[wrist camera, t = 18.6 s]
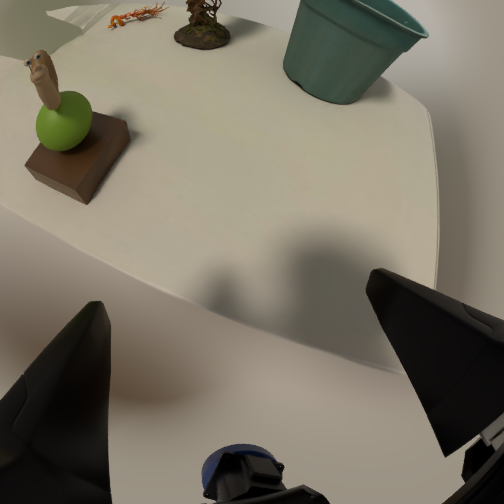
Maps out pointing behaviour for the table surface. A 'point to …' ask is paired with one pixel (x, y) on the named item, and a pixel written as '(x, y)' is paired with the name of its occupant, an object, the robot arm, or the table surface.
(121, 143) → the riser
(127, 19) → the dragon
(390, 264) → the table surface
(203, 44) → the sculpture
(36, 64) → the snail figurine
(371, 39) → the flower pot
